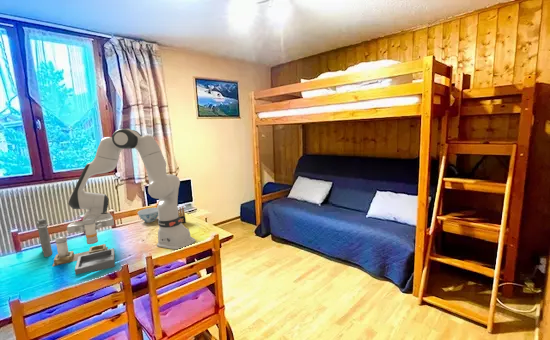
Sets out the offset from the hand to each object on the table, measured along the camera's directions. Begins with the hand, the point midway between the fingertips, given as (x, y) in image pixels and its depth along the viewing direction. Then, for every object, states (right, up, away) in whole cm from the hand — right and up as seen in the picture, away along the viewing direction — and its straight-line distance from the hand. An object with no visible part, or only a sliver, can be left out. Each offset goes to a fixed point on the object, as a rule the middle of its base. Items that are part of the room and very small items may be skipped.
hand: (90, 229), depth 138 cm
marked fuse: (0, -7, +2) cm, 7 cm away
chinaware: (0, -8, +66) cm, 67 cm away
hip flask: (-37, -18, +20) cm, 46 cm away
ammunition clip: (+24, -9, +57) cm, 62 cm away
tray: (+1, -19, +4) cm, 19 cm away
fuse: (-19, -18, +9) cm, 28 cm away
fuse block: (-13, -18, +13) cm, 25 cm away
